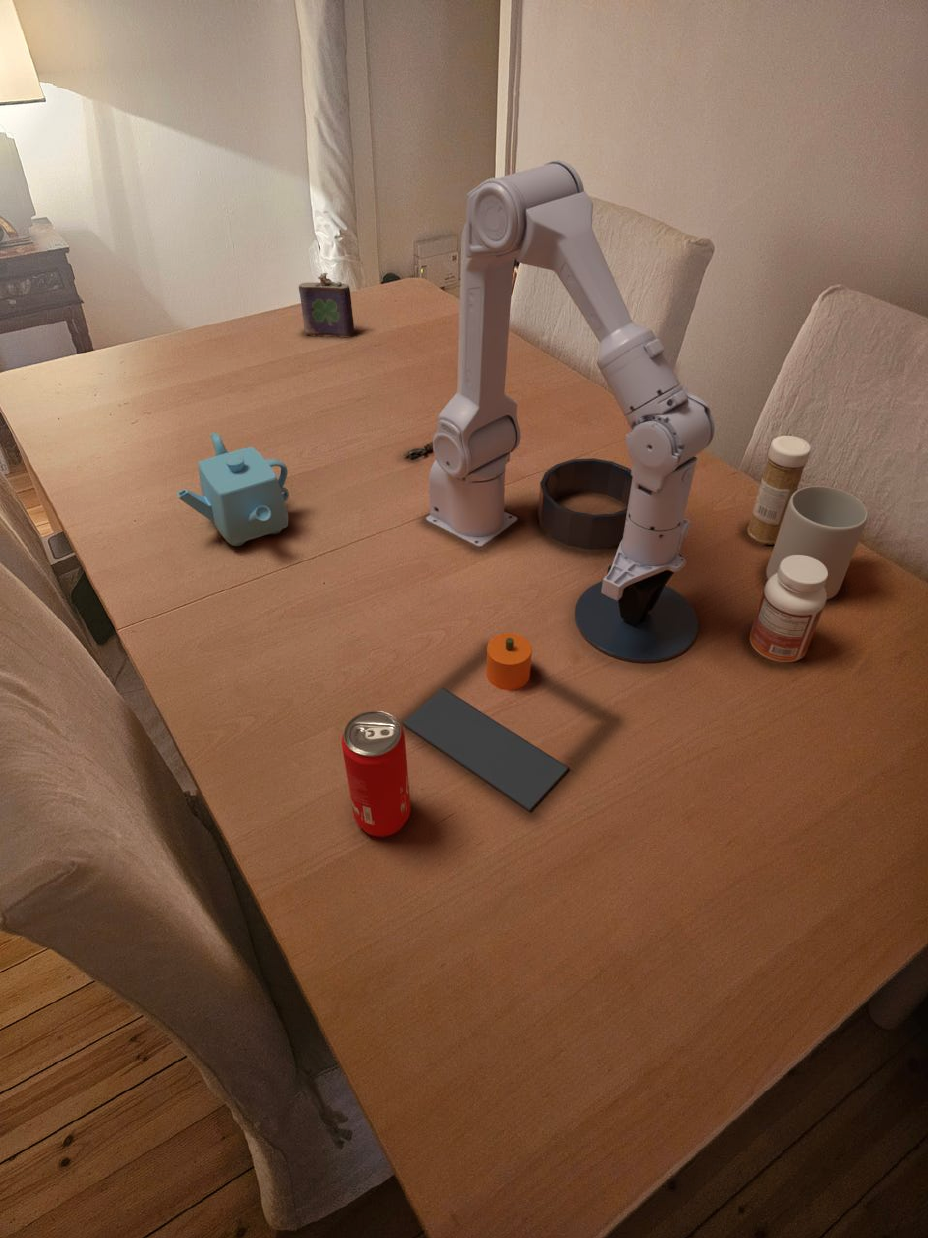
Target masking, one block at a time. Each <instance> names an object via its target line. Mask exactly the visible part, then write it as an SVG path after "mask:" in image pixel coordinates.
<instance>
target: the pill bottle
mask: <svg viewBox="0 0 928 1238" xmlns="http://www.w3.org/2000/svg"><path fill="white" fill-rule="evenodd" d="M827 577H828V571H827V568H826V567H825V565H824V564H823V563H821V562H820V561H818V560H817V559H814V558H812V557H809V556H804V555H792V556H788V557H786V558H785V559H783V560H782V562H781V564H780V567H779V569H778V573H776V574H774V575H773V576H772V577H771V578H770V579H769V580H768V579H767V582H766V583H765V585H764V589H763V591H762V595H761V597H760V600H759V604H758V608H757V611H756V615H755V618H754V620H753V623H752V626H751V630H750V634H749V641H750V644H751V647H752V648H753V649H754V650H755V651H756V652H757V653H758V654H760V655H761V656H763V657H765V658H766V659H769V660H772V661H775V662H780V663H793V662H796V661H798V660H800V659H802V658H803V657H804V656H805V655H806V653H807V651H808V649H809V647H810V644H811V642H812V638H813V636H814V634H815V631H816V629H817V626H818V623H819V621H820V619H821V616H822V613H823V610H824V608H825V605H826V603H827V600H828V599H827V594H826V590H825V588H824V586H825V583H826V580H827ZM826 599H827V600H826Z"/></svg>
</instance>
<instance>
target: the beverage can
mask: <svg viewBox="0 0 928 1238" xmlns="http://www.w3.org/2000/svg"><path fill="white" fill-rule="evenodd" d="M406 746H407V745H406V735H405V731H404V729H403V727H402V726H401V724H400V722H399V720H398V719H397V718H396V717H395V716H393V715H392V713H391V714H390V713H389V712H387V711H386V712H385V711H382V710H368V711H363V712H361V713H359V714H357V715H355V716H354V717H352V718H351V719H350V720H349V721H348V722H347V724H346V725H345V728H344V730H343V733H342V736H341V748H342V753H343V760H344V761H343V762H344V766H345V771H346V772H345V773H346V779H347V785H348V791H349V797H350V804H351V811H352V815H353V819H354V821H355V823H356V825H358V827H359V828H361V829H362V830H363V831H364V833H366V834H368V835H369V836H372V837H374V838H375V837H377V838H386V837H390V836H392V835H395V834H396V833H398V832H399V831H400V830H401V829H403V827H404V826H405V824H406V822H407V821H408V819H409V817H410V813H411V797H410V782H409V772H408V771H409V770H408V759H407V747H406Z"/></svg>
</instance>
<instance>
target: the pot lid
mask: <svg viewBox="0 0 928 1238" xmlns="http://www.w3.org/2000/svg"><path fill="white" fill-rule="evenodd" d="M602 584H603V580H601V581H599V582H597V583H595V584H593V585H591V586H590V587H588V588H587V589H585V591H583V592H582V594H581V595H580V596H579V598H578V599H577V601H576V604H575V609H574V621H575V625H576V628H577V631H578V632H579V634H580V635H581V636H582V637H583V639H584V640H585V641H587V643H588V644H589V645H591V646H592V647H594V649H596V650H597V651H599V652H601V653H603V654H604V655H607V656H610V657H612V658H615V659H617V660H621V661H625V662H631V663H637V664H638V663H640V664H651V663H659V662H664V661H668V660H671V659H674V658H676V657H678V656H681V654H683V653H684V652H686V651H687V650H688V649H689V648H690V647H691V646H692V644H693V643H694V642H695V640H696V637H697V634H698V630H699V621H698V617H697V613H696V611H695V609H694V607H693V606H692V604H691V603H690V602H689V601H688V600H687V599H686V597H684V596H683V595H682V594H681V593H680V592H678V591H676V590H675V589H673V588H671V587H670V586H669V585H665V587H664V589H663V591H662V593H661V595H660V597H659V599H658V601H657V602H656V604H655V606H654V607H653V609H652V610H651V611H648V609H649V604H650V600H651V597H650V599H649V601H648V603H647V605H646V608H645V611H644V614H643V616H642V618H641V620H640V621H639V623H638V624H637V625H634V624H632V623H630V622H628V621H626V620H624V619H622V618H621V616H620V610H619V604H618V601H617V600H615V599H613V598H610V597H608V596H606V595H605V594H603V593H601V591H602Z"/></svg>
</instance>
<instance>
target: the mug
mask: <svg viewBox="0 0 928 1238" xmlns="http://www.w3.org/2000/svg"><path fill="white" fill-rule="evenodd" d="M868 518H869V510H868V509H867V507H866V504H865V502H863V501H862V500H861V499H859V498H858V497H856V496H855V495H853V494H851V493H849V492H847V491H845V490H842V489H839V488H836V487H831V486H823V485H812V486H806V487H802V488H800V489H799V488H798V489H797V491H796V492H795V493H794V494H793V495H792V496H791V498H790V500H789V503H788V506H787V509H786V512H785V515H784V518H783V521H782V524H781V528H780V531H779V534H778V537H777V540H776V543H775V544H774V547H773V549H772V553H771V555H770V558H769V560H768V563H767V566H766V570H765V573H766V574H765V575H766V578H767V581H768V580H769V579H770V578H771V577H772V576H773V575H774V574H776V573H778V569H779V567H780V564H781V562H782V560H783V559H785V558H786V557H788V556H792V555H804V556H809V557H812V558H814V559H817V560H818V561H820V562H821V563H823V564H824V565H825V567H826V568H827V571H828V577H827V580H826V583H825V586H824V588H825V590H826V594H827V599H826V601H827V600H830V599H833V598H834V597H835V596H837V594H838V593H839V591H840V589H841V587H842V584H843V581H844V578H845V576H846V573H847V571H848V568H849V566H850V564H851V561H852V558H853V556H854V554H855V552H856V549H857V546H858V545H859V541H860V540H861V537H862V534H863V532H864V529H865V527H866V524H867V522H868Z"/></svg>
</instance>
